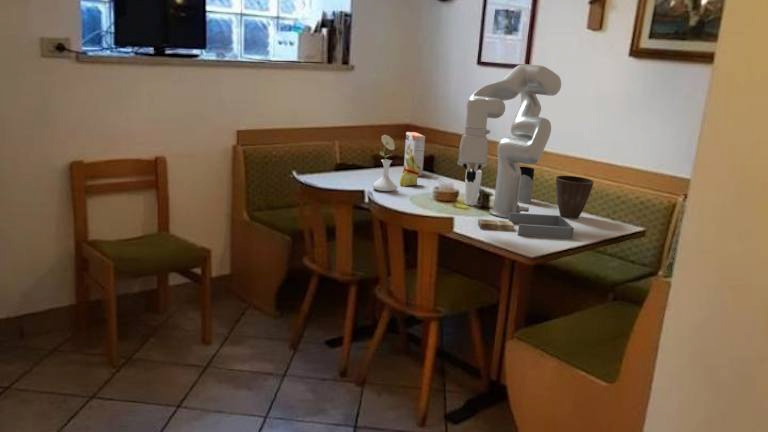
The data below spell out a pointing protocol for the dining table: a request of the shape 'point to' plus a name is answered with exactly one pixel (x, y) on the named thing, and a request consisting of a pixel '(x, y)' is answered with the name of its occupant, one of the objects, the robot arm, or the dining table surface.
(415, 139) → the cracker box
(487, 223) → the tile walnut
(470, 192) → the drinking glass
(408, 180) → the chocolate bunny
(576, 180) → the plant pot
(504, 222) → the tile oak
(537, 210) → the dining table surface
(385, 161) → the flower in vase
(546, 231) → the frame
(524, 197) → the glass holder
